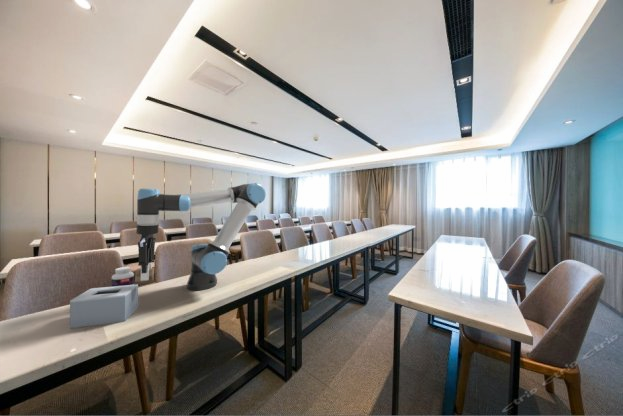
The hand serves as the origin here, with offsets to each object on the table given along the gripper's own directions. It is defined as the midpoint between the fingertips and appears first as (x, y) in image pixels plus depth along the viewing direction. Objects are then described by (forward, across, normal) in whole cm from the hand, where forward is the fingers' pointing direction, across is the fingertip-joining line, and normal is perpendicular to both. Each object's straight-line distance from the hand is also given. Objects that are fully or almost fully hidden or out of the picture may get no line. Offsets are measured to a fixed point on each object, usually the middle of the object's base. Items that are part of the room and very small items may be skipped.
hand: (146, 278), depth 92 cm
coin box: (+13, +3, -12) cm, 18 cm away
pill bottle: (+13, -15, -14) cm, 24 cm away
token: (+1, 0, 0) cm, 1 cm away
